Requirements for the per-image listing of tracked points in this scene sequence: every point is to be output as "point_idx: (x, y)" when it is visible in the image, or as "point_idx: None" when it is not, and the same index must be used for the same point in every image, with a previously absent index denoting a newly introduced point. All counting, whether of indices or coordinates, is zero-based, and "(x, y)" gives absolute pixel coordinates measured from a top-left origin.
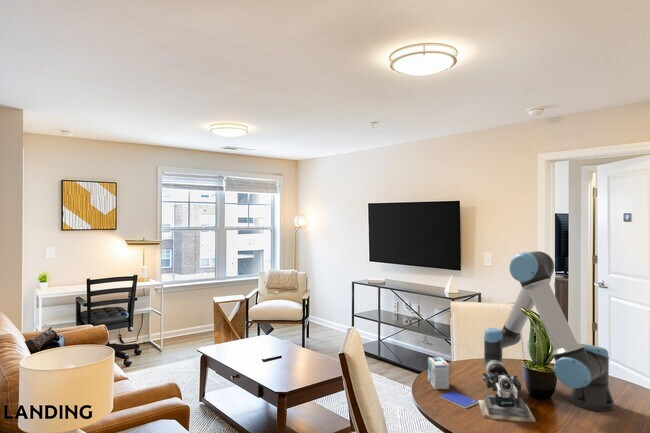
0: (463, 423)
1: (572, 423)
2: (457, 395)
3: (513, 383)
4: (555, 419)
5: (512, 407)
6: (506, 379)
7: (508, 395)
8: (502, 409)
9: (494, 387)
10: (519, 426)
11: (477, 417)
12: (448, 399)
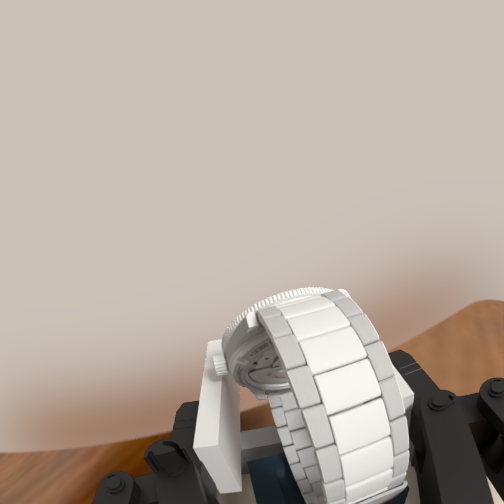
0: (463, 331)
1: (35, 473)
2: None
3: (188, 456)
4: (71, 499)
5: None
6: (272, 299)
7: (284, 403)
8: (335, 413)
9: (400, 350)
10: (261, 411)
11: (449, 390)
12: None
